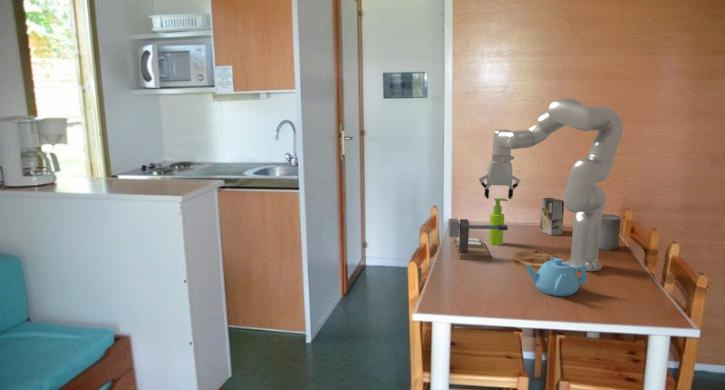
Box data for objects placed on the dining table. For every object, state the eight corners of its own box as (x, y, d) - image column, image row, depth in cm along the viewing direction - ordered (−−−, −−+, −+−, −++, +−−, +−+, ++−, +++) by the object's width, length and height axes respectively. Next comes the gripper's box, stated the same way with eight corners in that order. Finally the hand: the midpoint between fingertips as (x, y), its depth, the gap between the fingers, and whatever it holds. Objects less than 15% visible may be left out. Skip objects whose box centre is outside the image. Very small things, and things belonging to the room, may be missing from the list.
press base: (490, 259, 212) (492, 224, 209) (459, 259, 213) (461, 223, 210) (480, 243, 236) (482, 210, 233) (453, 242, 236) (454, 210, 234)
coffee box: (562, 234, 251) (565, 200, 248) (551, 235, 249) (553, 201, 246) (550, 229, 259) (552, 197, 256) (539, 230, 258) (541, 197, 255)
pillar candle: (613, 244, 234) (616, 211, 231) (621, 251, 224) (624, 216, 222) (590, 244, 235) (592, 210, 232) (597, 250, 225) (600, 215, 223)
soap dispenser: (506, 245, 232) (509, 200, 229) (490, 245, 232) (492, 200, 229) (503, 241, 238) (505, 197, 234) (487, 241, 238) (489, 197, 235)
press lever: (507, 237, 212) (508, 223, 211) (449, 236, 213) (450, 222, 212) (504, 234, 218) (505, 219, 217) (448, 233, 219) (448, 218, 218)
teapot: (560, 302, 169) (563, 269, 167) (522, 288, 182) (524, 257, 180) (589, 292, 178) (592, 261, 176) (551, 279, 190) (553, 250, 188)
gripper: (519, 158, 232) (516, 197, 235) (479, 157, 233) (476, 195, 236) (523, 160, 224) (520, 200, 228) (481, 159, 225) (479, 199, 229)
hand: (498, 198), depth 232 cm, fingers open, 9 cm apart
